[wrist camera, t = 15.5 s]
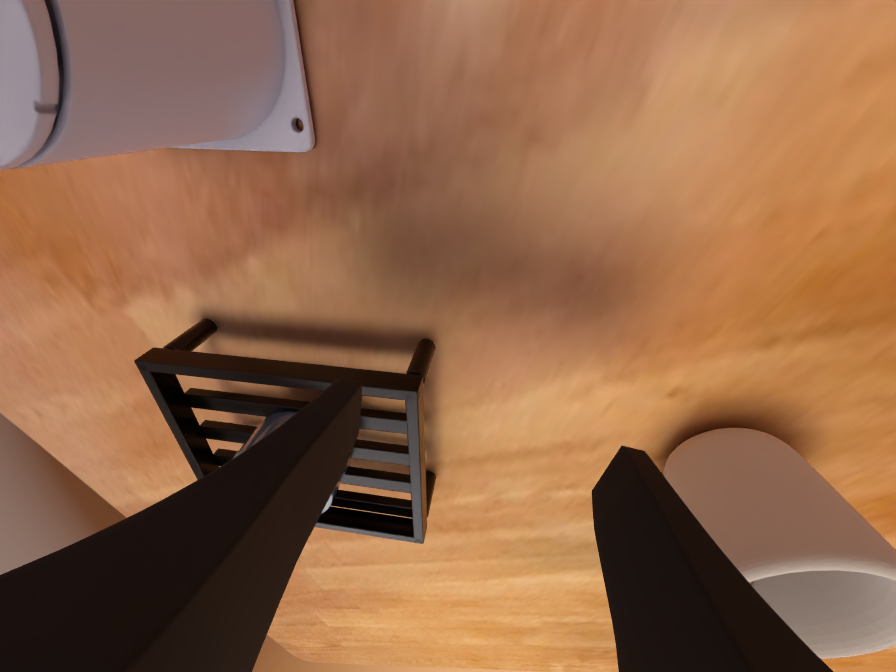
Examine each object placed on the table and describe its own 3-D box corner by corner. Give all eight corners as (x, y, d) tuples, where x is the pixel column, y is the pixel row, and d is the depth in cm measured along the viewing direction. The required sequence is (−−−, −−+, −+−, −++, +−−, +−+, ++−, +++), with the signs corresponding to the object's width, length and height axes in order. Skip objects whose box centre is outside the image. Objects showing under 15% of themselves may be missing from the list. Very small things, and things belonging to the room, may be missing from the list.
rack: (198, 315, 22) (133, 360, 18) (435, 337, 20) (417, 391, 16) (253, 456, 28) (214, 511, 25) (436, 481, 27) (423, 544, 23)
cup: (883, 462, 20) (1067, 641, 14) (761, 532, 24) (855, 694, 18) (711, 386, 19) (818, 539, 13) (616, 473, 24) (658, 621, 17)
